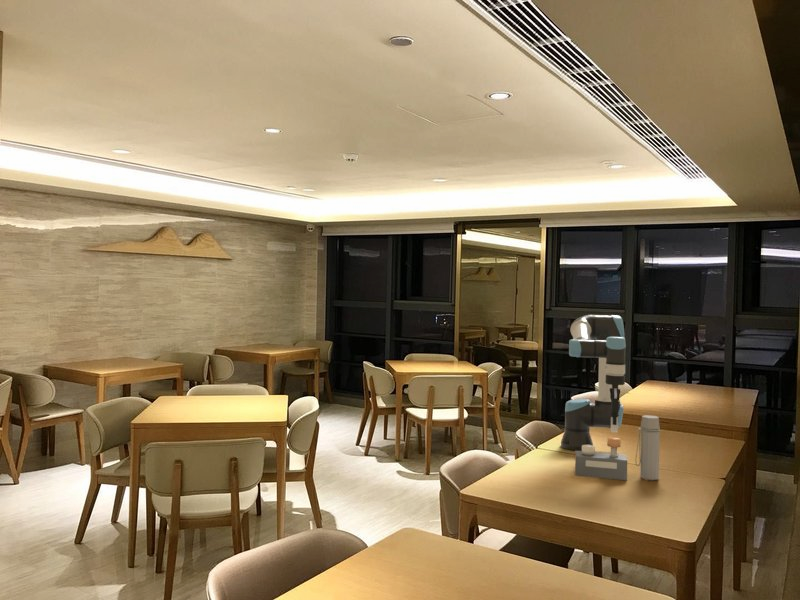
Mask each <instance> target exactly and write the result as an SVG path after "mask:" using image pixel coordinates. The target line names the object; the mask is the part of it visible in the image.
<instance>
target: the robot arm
mask: <svg viewBox="0 0 800 600" xmlns="http://www.w3.org/2000/svg"><path fill="white" fill-rule="evenodd" d="M569 331H570V334H571V336H572V339H569V341H568V344H569V345H568V355H569V356H570V357H574V358H575V357H576V358H598V385H597V386H598V389H597V390H598V392H597V393H598V395H597V396H596V397H595V398H594V402H592V401H591V400H590V399H588V398H577V399H575V398H574V399H570V400H568V401H566V402H565V407H564V408H565V409H564V412H565V413H564V431H563V436H562V438H561V441H560V447H561V448H563V449H564V450H565V449H566V450H570V451H575V452H576V451H582V445H593V446H594V443H593V439H592V435H591V433H590V432H591V431H590V430H591V429H590V428H603V429H610V433H612V434H618V433H619V428H620V427H621V425H622V422H623V415H624V404H622V403H621V400H620V398H621V397H620V396H621V395H620V394H621V388H619V386H624V385H626V384H625V383H626V376H625V374H626V347H627V344H626V338H625V337H626V336H625V326H624V320H623V318H622V317H621V316H620V315H617V314H616V315H615V314H585V315H582V316H580V317H577V318H576V319H575V320H574V321H573V322H571V325H570V330H569Z"/></svg>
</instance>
